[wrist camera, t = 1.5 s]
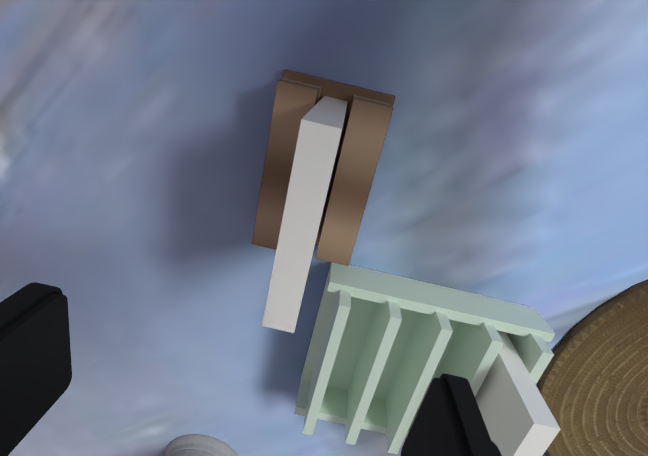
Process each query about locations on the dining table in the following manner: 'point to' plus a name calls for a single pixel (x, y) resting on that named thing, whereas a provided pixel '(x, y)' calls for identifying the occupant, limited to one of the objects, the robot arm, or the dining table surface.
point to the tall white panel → (303, 210)
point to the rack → (423, 359)
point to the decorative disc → (602, 381)
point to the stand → (349, 167)
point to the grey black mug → (198, 446)
